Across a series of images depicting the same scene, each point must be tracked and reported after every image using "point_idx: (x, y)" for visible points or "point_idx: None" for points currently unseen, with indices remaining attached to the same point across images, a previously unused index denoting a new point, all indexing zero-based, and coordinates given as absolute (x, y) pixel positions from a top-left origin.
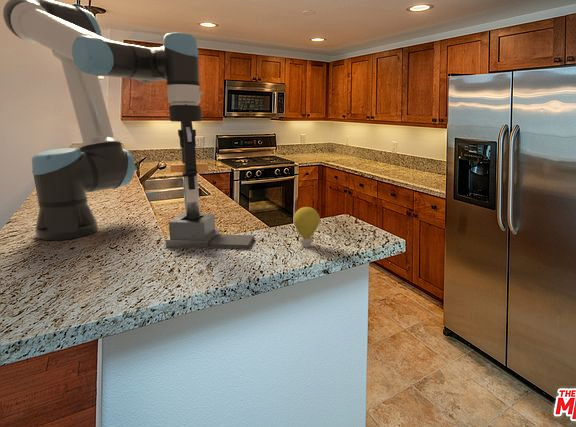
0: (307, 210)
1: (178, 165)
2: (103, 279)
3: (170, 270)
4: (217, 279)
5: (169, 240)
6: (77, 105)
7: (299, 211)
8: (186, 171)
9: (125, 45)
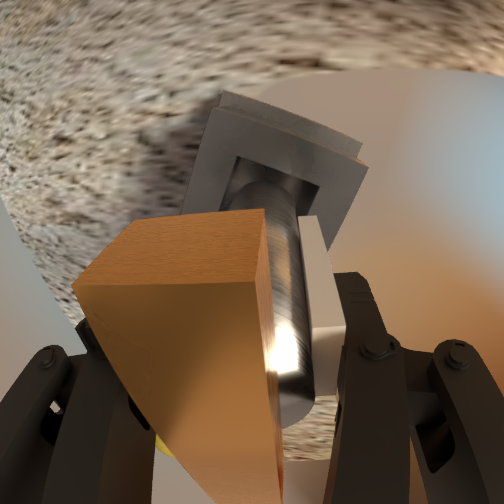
0: (157, 448)
1: (129, 383)
2: (48, 18)
3: (61, 137)
4: (33, 231)
5: (219, 104)
6: None
7: (161, 441)
8: (30, 364)
9: None
